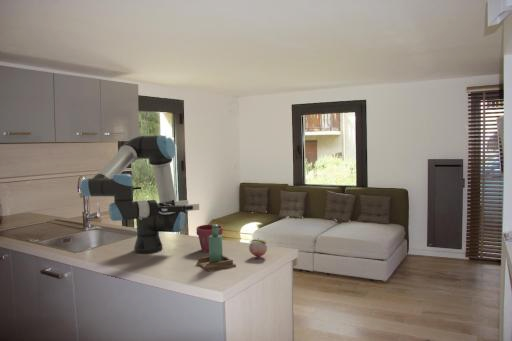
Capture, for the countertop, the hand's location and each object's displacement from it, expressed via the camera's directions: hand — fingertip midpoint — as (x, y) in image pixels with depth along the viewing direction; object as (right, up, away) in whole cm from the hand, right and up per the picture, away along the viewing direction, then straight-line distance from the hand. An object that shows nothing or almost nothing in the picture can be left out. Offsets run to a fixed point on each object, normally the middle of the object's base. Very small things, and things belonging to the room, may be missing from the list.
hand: (193, 204), depth 186 cm
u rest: (+10, -29, +7) cm, 32 cm away
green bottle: (+10, -28, +7) cm, 31 cm away
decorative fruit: (+30, -29, +20) cm, 46 cm away
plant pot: (+4, -28, +36) cm, 46 cm away
